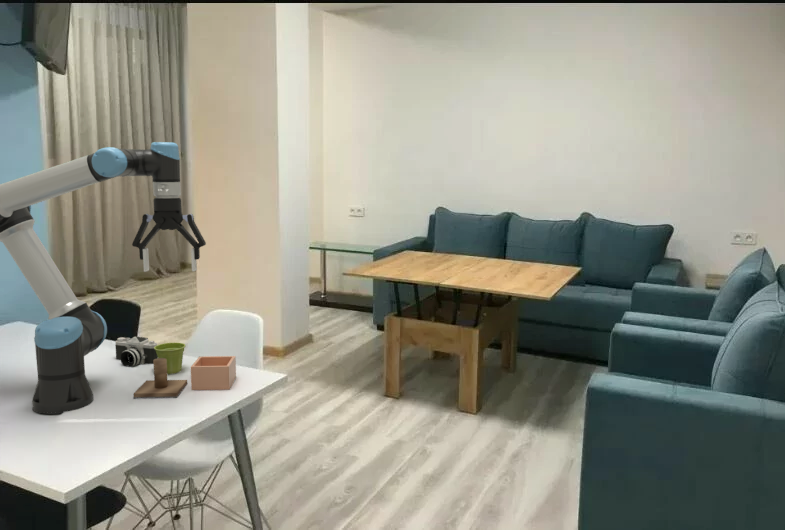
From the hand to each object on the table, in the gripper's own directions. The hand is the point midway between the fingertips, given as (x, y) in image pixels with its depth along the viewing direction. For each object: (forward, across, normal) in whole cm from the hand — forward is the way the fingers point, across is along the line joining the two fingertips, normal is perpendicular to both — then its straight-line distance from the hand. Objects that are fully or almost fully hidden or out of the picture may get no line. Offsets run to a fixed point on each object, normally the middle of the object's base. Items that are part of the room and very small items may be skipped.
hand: (170, 270), depth 196 cm
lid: (+34, -3, -4) cm, 35 cm away
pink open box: (+35, +11, +2) cm, 36 cm away
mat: (+35, -3, -4) cm, 35 cm away
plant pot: (+35, -5, +14) cm, 38 cm away
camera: (+35, -20, +23) cm, 46 cm away
